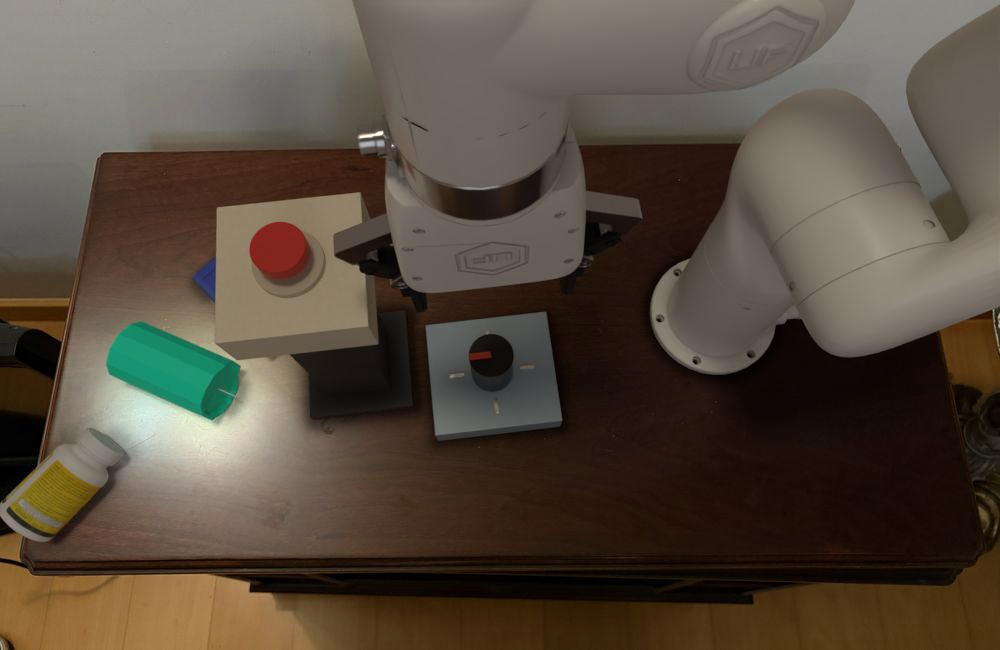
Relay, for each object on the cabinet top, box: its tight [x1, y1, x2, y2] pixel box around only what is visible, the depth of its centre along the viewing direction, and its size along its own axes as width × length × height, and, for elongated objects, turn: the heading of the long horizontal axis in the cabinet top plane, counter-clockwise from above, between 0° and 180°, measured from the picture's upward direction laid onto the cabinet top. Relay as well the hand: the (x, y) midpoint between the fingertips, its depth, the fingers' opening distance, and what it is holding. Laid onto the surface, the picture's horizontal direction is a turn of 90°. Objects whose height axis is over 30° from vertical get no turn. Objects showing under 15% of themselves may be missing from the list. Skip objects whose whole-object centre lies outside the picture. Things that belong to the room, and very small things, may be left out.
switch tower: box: [214, 191, 415, 421], centre depth 59 cm, size 10×10×26 cm
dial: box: [469, 334, 514, 392], centre depth 65 cm, size 4×4×6 cm
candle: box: [105, 321, 242, 421], centre depth 68 cm, size 6×6×12 cm
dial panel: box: [424, 311, 563, 442], centre depth 69 cm, size 12×11×3 cm
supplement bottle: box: [0, 427, 124, 543], centre depth 65 cm, size 5×5×10 cm
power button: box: [249, 222, 310, 279], centre depth 45 cm, size 4×4×1 cm
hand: (492, 282), depth 47 cm, fingers open, 9 cm apart
